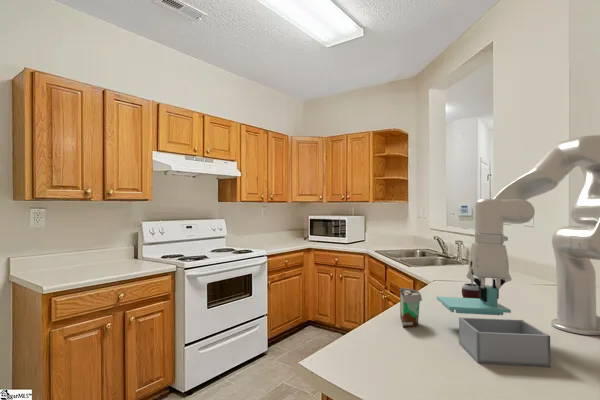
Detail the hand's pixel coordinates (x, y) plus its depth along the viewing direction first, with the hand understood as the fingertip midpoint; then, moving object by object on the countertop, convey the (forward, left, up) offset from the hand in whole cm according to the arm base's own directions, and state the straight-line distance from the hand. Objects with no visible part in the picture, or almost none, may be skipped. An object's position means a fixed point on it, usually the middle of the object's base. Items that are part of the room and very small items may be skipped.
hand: (488, 300), depth 103 cm
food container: (+22, -4, -9) cm, 24 cm away
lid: (+5, 0, -3) cm, 6 cm away
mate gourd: (-6, -30, -9) cm, 32 cm away
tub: (+5, +18, -9) cm, 21 cm away
